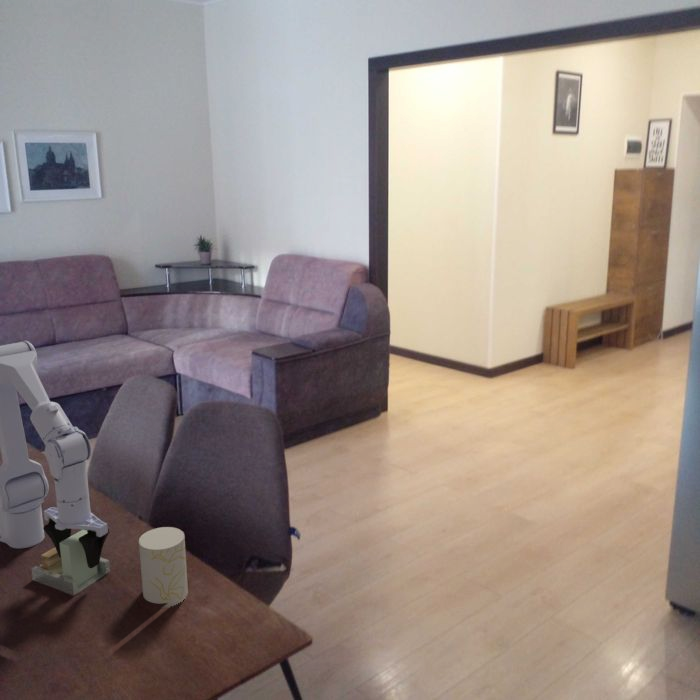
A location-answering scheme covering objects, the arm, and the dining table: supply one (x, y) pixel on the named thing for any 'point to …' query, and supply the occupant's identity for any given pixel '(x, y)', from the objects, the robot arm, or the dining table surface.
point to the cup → (163, 566)
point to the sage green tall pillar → (75, 559)
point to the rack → (67, 583)
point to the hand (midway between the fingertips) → (79, 560)
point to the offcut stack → (51, 561)
